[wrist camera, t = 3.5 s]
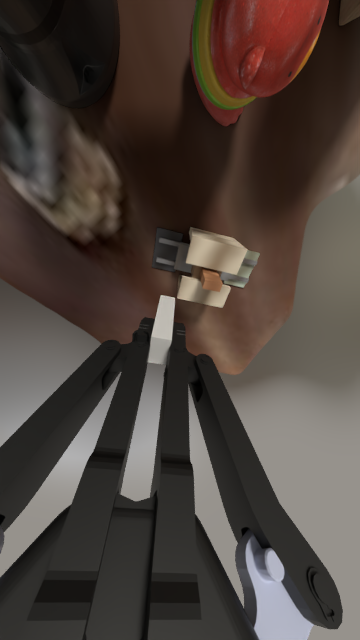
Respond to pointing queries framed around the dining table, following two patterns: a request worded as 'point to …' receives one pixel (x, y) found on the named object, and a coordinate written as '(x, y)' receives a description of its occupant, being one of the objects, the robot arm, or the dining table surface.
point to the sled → (200, 270)
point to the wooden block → (349, 11)
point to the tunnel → (205, 262)
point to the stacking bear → (250, 49)
